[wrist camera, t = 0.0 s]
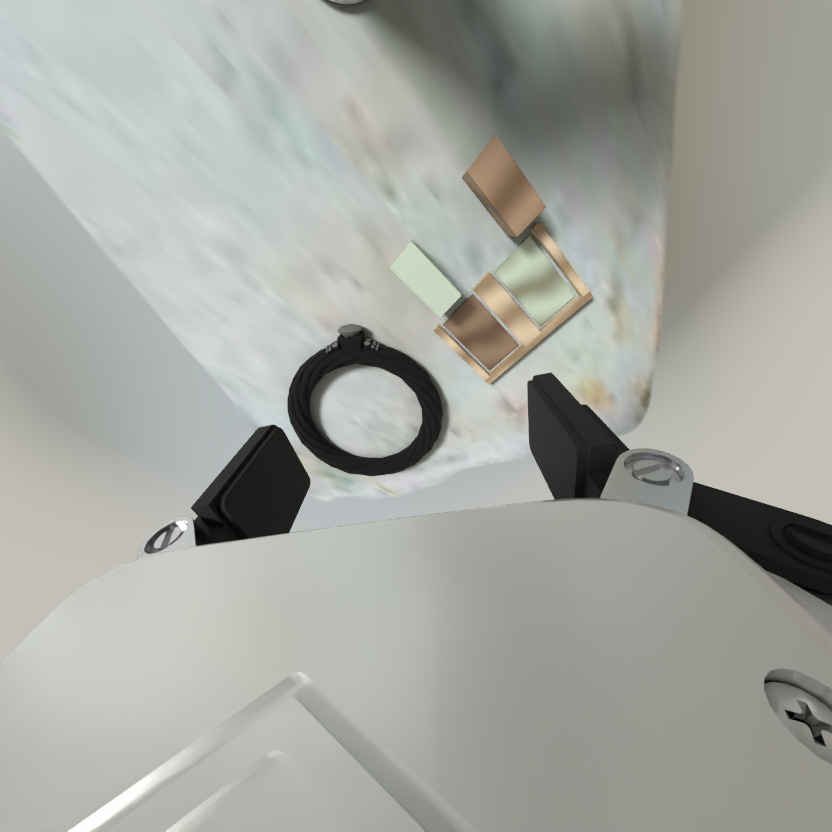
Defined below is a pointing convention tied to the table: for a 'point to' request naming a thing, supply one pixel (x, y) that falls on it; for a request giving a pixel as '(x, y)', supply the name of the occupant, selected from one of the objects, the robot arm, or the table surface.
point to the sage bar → (425, 279)
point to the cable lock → (367, 353)
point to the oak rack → (515, 306)
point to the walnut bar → (503, 189)
